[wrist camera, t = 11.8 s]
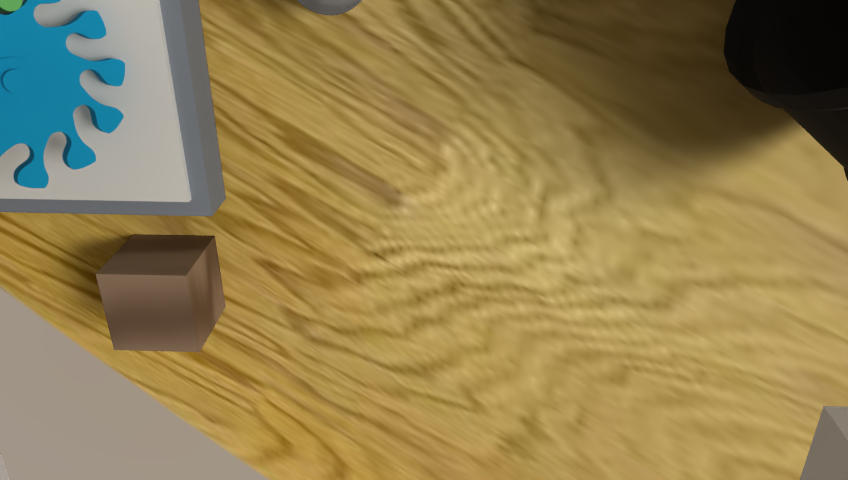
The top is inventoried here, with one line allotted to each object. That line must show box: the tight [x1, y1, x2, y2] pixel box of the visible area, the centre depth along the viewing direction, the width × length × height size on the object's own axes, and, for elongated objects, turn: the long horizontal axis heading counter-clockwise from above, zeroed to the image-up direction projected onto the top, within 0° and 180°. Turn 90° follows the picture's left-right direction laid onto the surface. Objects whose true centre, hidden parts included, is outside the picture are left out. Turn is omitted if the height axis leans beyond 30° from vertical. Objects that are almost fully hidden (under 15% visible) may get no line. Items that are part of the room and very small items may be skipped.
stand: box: [0, 0, 226, 216], centre depth 36 cm, size 18×13×3 cm
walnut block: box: [96, 234, 225, 352], centre depth 41 cm, size 5×5×5 cm
